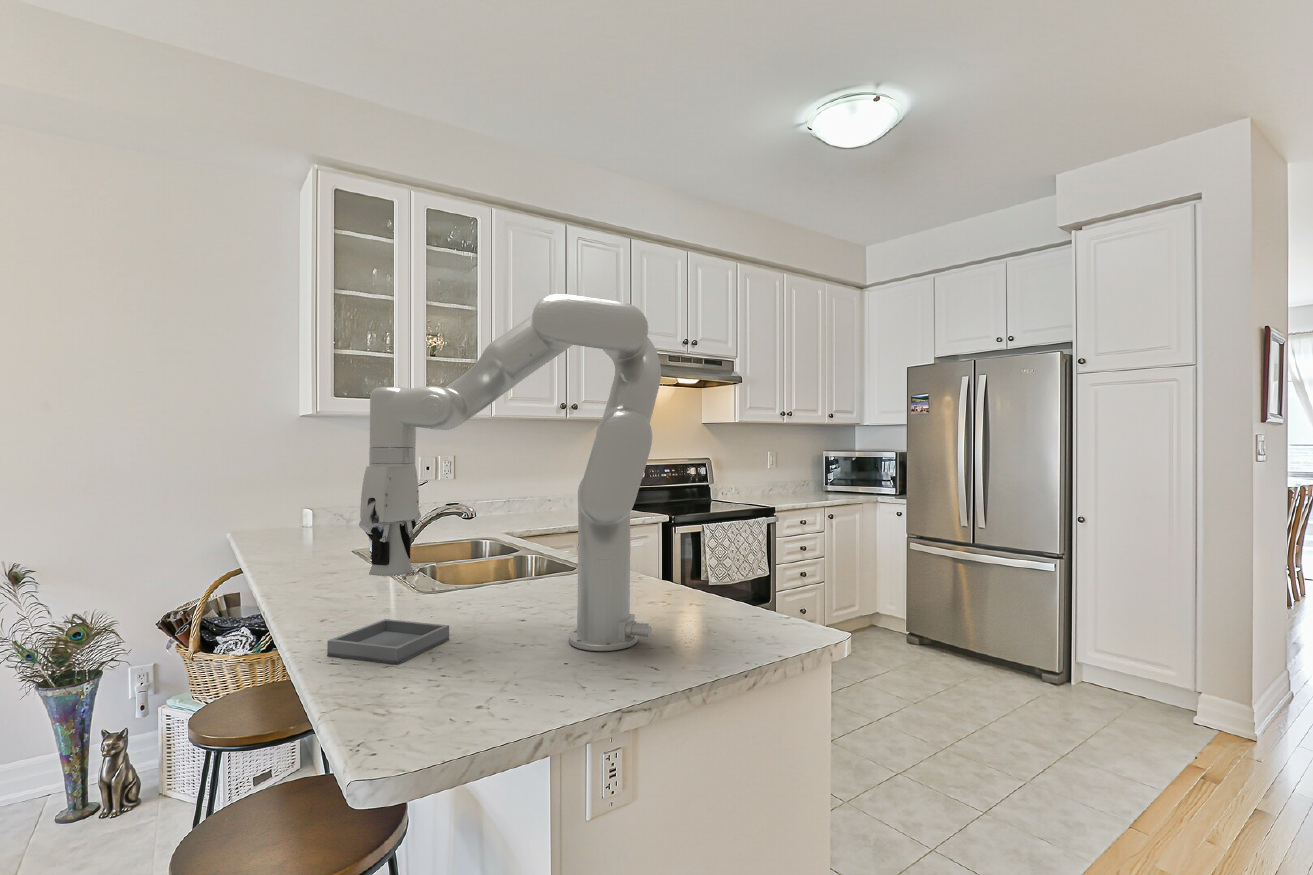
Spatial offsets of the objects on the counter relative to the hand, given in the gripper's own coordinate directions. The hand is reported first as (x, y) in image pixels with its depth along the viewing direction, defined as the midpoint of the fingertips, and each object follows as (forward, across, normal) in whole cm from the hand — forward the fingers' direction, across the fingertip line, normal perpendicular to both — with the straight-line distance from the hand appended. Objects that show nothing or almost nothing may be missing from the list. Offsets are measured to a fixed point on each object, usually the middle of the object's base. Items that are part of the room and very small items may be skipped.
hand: (391, 560), depth 114 cm
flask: (+2, 0, 0) cm, 2 cm away
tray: (+15, 0, 0) cm, 15 cm away
